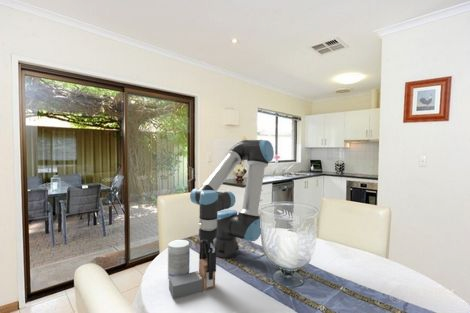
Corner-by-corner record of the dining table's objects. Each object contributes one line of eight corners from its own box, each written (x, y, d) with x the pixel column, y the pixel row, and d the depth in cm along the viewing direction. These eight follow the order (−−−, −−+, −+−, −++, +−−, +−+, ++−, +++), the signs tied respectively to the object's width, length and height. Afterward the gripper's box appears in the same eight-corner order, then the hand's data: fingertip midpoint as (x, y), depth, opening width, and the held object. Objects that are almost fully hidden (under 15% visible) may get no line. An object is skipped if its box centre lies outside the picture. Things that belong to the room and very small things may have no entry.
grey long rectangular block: (197, 282, 102) (197, 270, 101) (202, 291, 95) (203, 278, 95) (169, 289, 96) (169, 276, 96) (172, 299, 90) (173, 285, 90)
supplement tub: (192, 277, 106) (193, 244, 105) (171, 283, 100) (172, 249, 100) (184, 268, 114) (185, 237, 113) (164, 273, 108) (165, 241, 108)
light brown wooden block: (209, 280, 104) (210, 257, 103) (214, 287, 98) (215, 263, 98) (198, 282, 101) (199, 259, 101) (203, 290, 96) (204, 266, 96)
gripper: (192, 222, 106) (191, 273, 107) (207, 236, 89) (206, 297, 90) (208, 220, 109) (207, 269, 110) (225, 234, 93) (224, 292, 93)
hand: (206, 281), depth 100 cm, fingers closed on light brown wooden block, 6 cm apart
